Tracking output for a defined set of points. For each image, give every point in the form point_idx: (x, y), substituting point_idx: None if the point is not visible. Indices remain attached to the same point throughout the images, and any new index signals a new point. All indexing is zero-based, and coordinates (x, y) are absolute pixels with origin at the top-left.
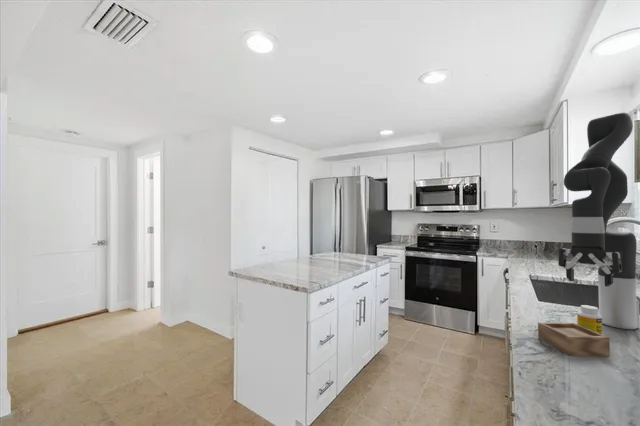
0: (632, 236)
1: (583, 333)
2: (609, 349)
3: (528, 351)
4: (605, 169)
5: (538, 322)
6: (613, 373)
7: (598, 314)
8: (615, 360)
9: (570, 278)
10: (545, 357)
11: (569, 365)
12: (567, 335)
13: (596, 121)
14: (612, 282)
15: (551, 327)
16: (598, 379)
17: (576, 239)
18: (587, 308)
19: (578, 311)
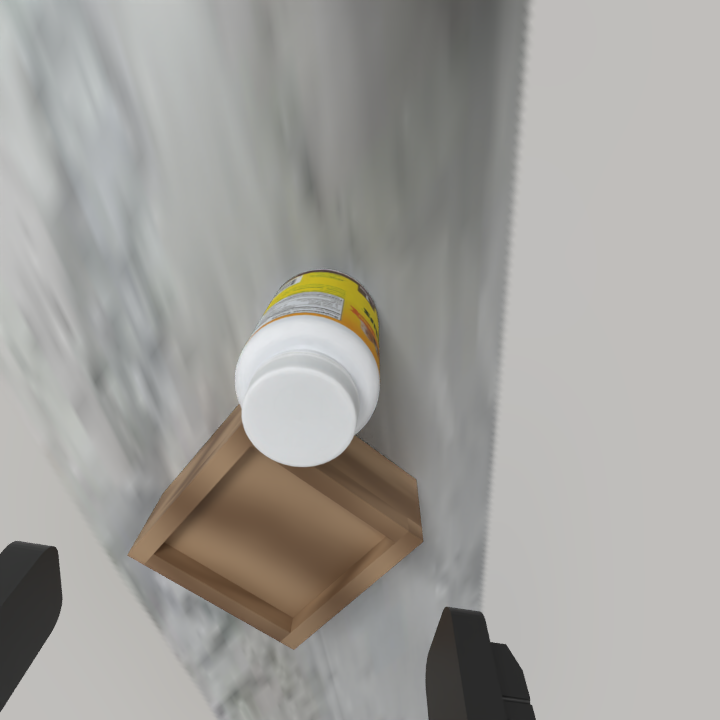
0: None
1: (317, 501)
2: (417, 500)
3: (200, 636)
4: None
5: (128, 553)
6: (431, 618)
7: (359, 385)
8: (434, 508)
9: (30, 653)
10: (256, 643)
11: (324, 648)
12: (284, 635)
13: None
14: (515, 690)
15: (201, 583)
16: (400, 678)
17: None
18: (297, 463)
19: (240, 396)
